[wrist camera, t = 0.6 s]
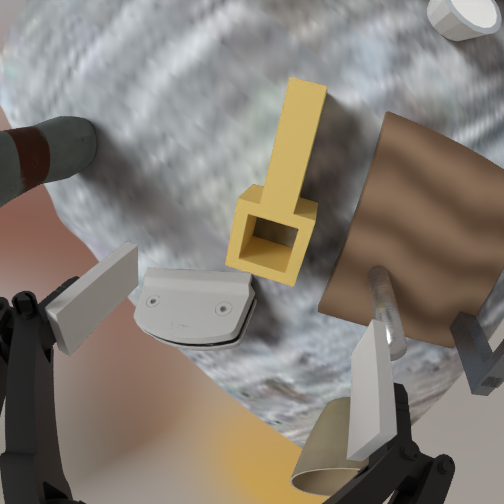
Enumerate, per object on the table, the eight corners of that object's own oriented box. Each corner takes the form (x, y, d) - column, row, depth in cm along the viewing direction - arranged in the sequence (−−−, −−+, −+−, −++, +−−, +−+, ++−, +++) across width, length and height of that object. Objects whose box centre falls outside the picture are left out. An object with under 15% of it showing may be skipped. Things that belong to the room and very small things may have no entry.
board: (385, 111, 25) (388, 111, 24) (529, 188, 23) (535, 191, 21) (318, 305, 37) (317, 312, 36) (450, 341, 35) (452, 348, 33)
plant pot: (398, 409, 43) (400, 484, 30) (334, 433, 50) (325, 500, 37) (358, 372, 41) (355, 461, 27) (288, 402, 48) (269, 477, 34)
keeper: (481, 252, 28) (530, 316, 17) (500, 261, 28) (548, 323, 16) (443, 320, 34) (468, 393, 22) (462, 325, 33) (489, 396, 21)
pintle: (371, 256, 33) (387, 336, 21) (389, 262, 32) (412, 343, 20) (363, 274, 34) (373, 357, 22) (381, 279, 34) (397, 363, 21)
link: (276, 80, 27) (265, 72, 22) (347, 98, 26) (351, 93, 21) (240, 241, 36) (224, 264, 31) (299, 260, 35) (293, 286, 30)
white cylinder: (481, 48, 18) (511, 38, 12) (433, 45, 20) (457, 31, 14) (462, -3, 15) (485, -22, 9) (412, -7, 18) (429, -31, 12)
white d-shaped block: (254, 273, 38) (236, 342, 31) (260, 295, 41) (245, 360, 34) (146, 267, 42) (117, 323, 35) (158, 287, 45) (133, 340, 39)
